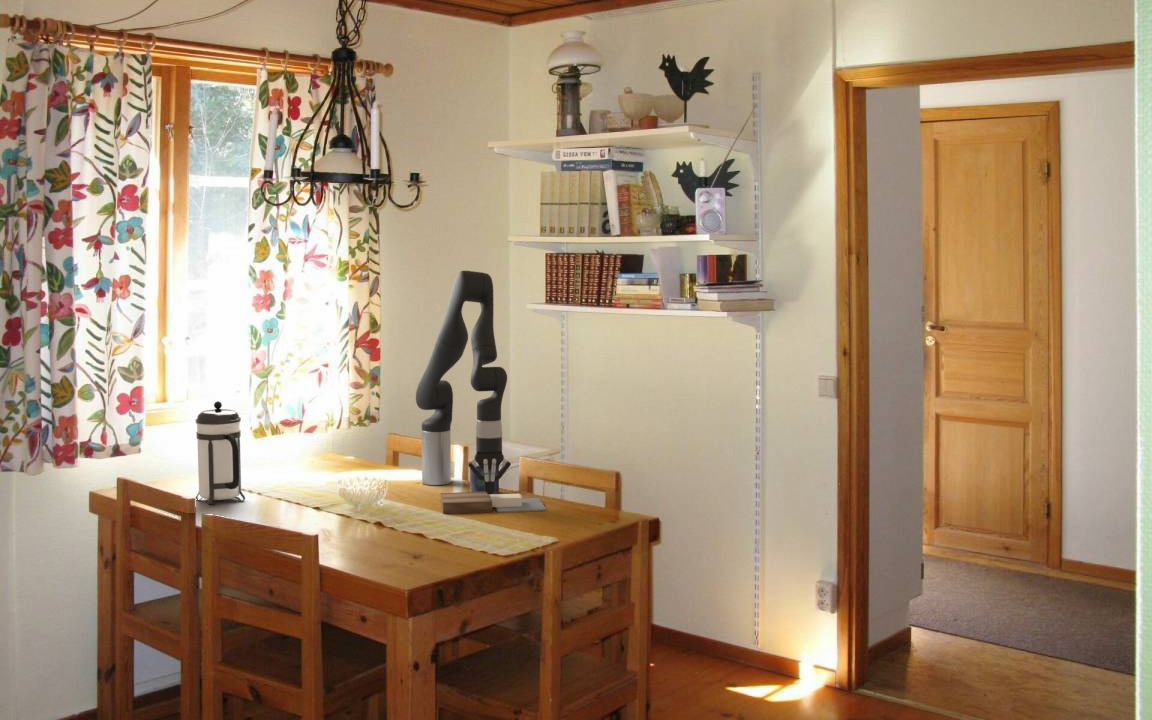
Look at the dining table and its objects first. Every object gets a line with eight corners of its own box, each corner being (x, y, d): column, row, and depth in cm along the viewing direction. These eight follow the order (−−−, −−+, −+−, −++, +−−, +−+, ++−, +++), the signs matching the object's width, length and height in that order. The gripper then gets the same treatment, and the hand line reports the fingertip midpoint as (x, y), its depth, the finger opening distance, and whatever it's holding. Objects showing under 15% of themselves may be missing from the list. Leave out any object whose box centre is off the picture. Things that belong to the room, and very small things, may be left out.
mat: (492, 500, 331) (492, 499, 331) (538, 498, 333) (538, 497, 333) (497, 512, 315) (497, 511, 315) (546, 510, 318) (546, 509, 317)
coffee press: (182, 506, 322) (179, 404, 319) (209, 494, 338) (206, 397, 335) (238, 508, 319) (235, 405, 317) (262, 496, 335) (260, 399, 332)
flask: (470, 495, 339) (470, 460, 338) (468, 493, 341) (468, 459, 340) (500, 493, 342) (499, 459, 341) (497, 491, 344) (497, 457, 343)
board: (440, 502, 327) (440, 492, 327) (487, 501, 330) (487, 491, 329) (443, 513, 314) (443, 503, 313) (492, 511, 316) (492, 501, 316)
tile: (489, 502, 326) (489, 494, 326) (519, 501, 327) (519, 493, 327) (491, 507, 320) (491, 498, 320) (521, 506, 321) (521, 497, 321)
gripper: (510, 432, 325) (510, 490, 327) (465, 433, 323) (466, 491, 325) (513, 436, 318) (513, 495, 320) (467, 437, 316) (467, 497, 318)
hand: (489, 493), depth 322 cm, fingers closed
